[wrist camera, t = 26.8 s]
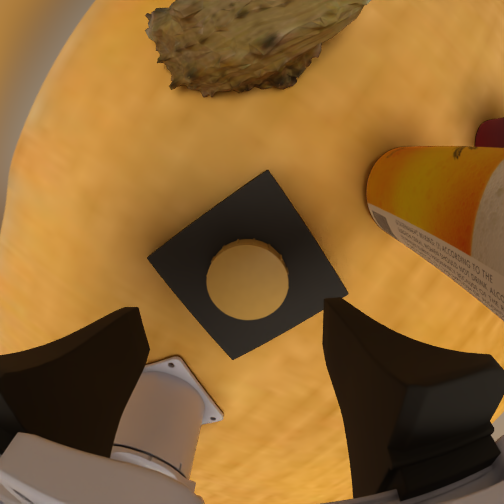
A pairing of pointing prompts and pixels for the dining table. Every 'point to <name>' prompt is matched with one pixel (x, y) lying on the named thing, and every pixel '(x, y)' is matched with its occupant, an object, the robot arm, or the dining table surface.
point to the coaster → (262, 229)
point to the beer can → (446, 212)
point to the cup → (491, 134)
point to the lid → (247, 279)
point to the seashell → (244, 40)
